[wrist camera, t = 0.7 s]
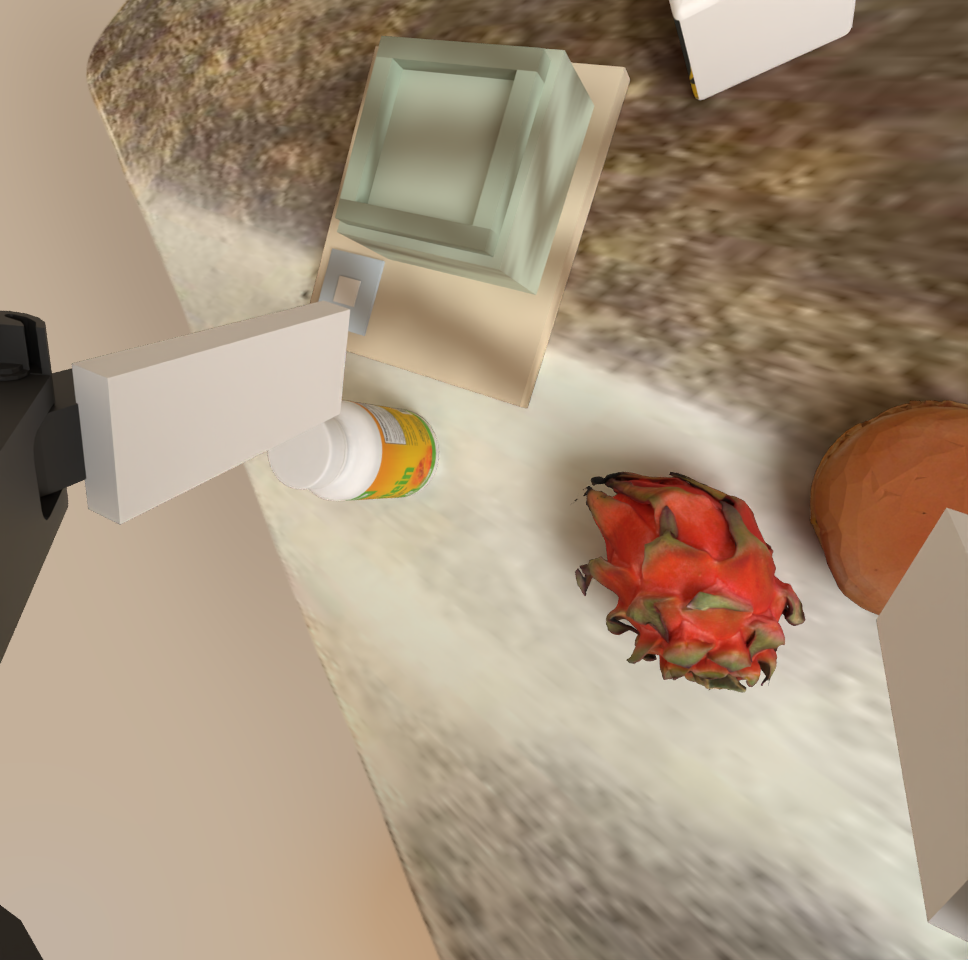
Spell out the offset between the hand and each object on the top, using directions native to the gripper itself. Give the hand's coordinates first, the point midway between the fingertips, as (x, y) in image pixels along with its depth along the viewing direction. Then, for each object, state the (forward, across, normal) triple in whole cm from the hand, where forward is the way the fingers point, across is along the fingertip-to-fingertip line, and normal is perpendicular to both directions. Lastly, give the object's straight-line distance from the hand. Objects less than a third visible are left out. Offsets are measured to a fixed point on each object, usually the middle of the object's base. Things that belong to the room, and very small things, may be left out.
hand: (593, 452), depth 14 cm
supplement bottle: (+20, +14, +13) cm, 28 cm away
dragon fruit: (+18, -4, +12) cm, 22 cm away
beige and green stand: (+25, +16, 0) cm, 29 cm away
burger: (+19, -12, +6) cm, 24 cm away
